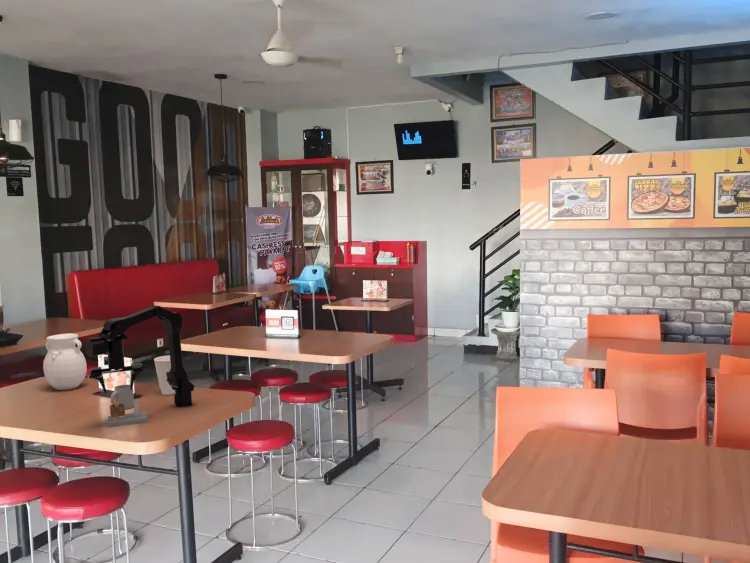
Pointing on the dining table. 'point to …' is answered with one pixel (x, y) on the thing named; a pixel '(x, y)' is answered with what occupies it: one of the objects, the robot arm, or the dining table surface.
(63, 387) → the white handled vase
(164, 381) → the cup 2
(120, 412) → the sleeve
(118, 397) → the cup
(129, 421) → the pin board
